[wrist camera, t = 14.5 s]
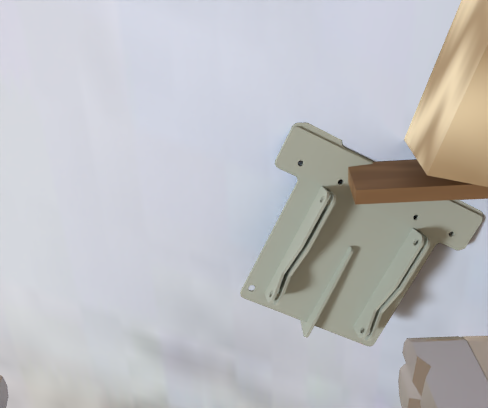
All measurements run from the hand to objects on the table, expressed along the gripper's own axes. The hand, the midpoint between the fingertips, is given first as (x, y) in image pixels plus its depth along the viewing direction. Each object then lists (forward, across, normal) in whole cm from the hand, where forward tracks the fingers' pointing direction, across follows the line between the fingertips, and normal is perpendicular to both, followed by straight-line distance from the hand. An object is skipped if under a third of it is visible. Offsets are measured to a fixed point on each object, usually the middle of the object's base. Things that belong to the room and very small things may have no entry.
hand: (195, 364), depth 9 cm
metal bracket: (+22, +7, -12) cm, 26 cm away
